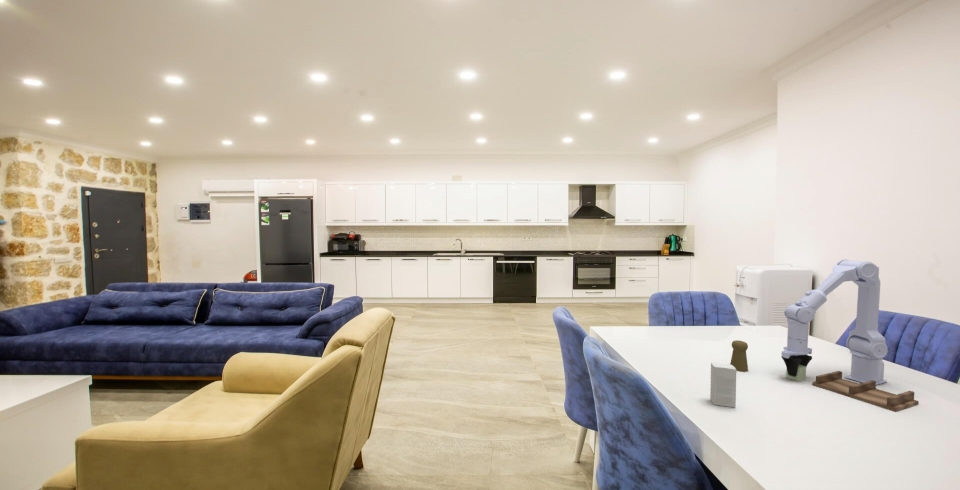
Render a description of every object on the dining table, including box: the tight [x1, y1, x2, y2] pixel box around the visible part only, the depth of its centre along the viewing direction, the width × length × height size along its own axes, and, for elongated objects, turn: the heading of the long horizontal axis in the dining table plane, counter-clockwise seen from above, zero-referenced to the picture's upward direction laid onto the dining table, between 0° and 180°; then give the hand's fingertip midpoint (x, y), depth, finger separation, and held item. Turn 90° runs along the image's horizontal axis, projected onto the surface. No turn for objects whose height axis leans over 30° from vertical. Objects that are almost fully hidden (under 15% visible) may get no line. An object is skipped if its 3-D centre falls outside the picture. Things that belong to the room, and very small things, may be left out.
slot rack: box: [811, 370, 920, 413], centre depth 125 cm, size 14×21×4 cm, turn 22°
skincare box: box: [709, 362, 737, 408], centre depth 117 cm, size 6×4×12 cm
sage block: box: [785, 365, 807, 382], centre depth 138 cm, size 4×4×5 cm
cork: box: [729, 340, 749, 373], centre depth 147 cm, size 6×6×11 cm
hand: (795, 374), depth 138 cm, fingers closed on sage block, 4 cm apart
